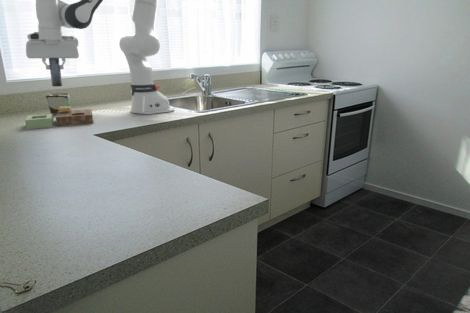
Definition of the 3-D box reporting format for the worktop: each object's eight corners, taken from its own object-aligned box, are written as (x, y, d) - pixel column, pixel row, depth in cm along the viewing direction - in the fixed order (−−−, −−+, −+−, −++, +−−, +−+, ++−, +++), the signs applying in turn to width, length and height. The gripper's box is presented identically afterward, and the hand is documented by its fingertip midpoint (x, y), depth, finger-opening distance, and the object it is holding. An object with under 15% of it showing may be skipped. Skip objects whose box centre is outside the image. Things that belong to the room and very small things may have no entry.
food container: (76, 111, 196) (74, 92, 193) (70, 114, 190) (68, 94, 187) (54, 111, 197) (51, 92, 194) (48, 113, 191) (44, 94, 188)
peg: (62, 85, 166) (59, 57, 162) (62, 86, 162) (58, 57, 159) (52, 85, 164) (48, 57, 161) (51, 86, 161) (48, 57, 157)
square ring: (53, 122, 172) (52, 113, 171) (52, 127, 163) (50, 118, 162) (29, 124, 169) (27, 115, 167) (26, 129, 160) (24, 120, 159)
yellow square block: (72, 116, 179) (70, 105, 177) (72, 118, 175) (70, 107, 173) (60, 117, 177) (59, 106, 176) (60, 119, 173) (58, 108, 171)
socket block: (92, 117, 183) (91, 108, 182) (93, 123, 170) (92, 114, 169) (58, 119, 178) (57, 111, 177) (57, 126, 165) (55, 117, 164)
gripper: (77, 36, 164) (80, 68, 168) (24, 35, 156) (29, 69, 160) (77, 36, 158) (81, 69, 162) (22, 35, 151) (27, 70, 155)
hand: (55, 69), depth 161 cm, fingers closed on peg, 4 cm apart
